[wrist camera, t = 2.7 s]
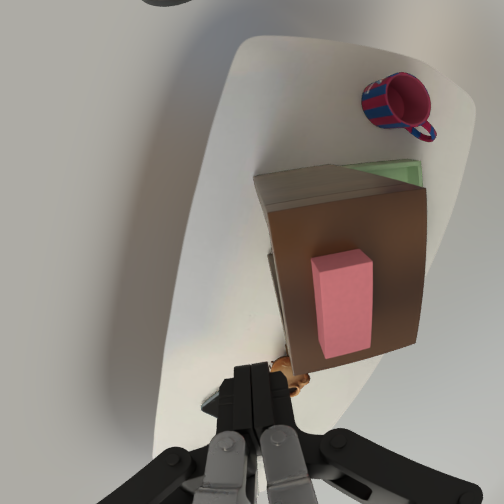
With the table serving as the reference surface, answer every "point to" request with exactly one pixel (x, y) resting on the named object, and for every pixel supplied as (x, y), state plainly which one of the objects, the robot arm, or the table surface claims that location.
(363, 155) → the table surface
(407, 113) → the cup
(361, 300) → the eraser
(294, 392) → the pot
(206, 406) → the smartphone
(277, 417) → the robot arm
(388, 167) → the tray
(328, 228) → the walnut stand
